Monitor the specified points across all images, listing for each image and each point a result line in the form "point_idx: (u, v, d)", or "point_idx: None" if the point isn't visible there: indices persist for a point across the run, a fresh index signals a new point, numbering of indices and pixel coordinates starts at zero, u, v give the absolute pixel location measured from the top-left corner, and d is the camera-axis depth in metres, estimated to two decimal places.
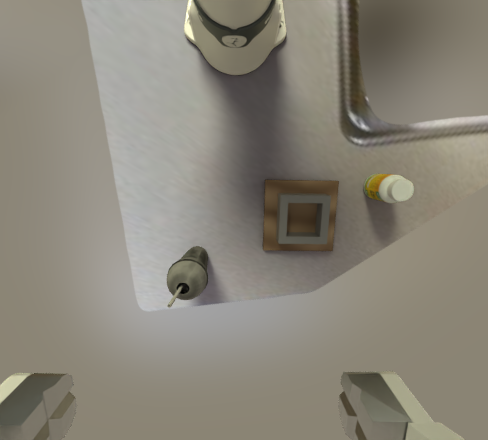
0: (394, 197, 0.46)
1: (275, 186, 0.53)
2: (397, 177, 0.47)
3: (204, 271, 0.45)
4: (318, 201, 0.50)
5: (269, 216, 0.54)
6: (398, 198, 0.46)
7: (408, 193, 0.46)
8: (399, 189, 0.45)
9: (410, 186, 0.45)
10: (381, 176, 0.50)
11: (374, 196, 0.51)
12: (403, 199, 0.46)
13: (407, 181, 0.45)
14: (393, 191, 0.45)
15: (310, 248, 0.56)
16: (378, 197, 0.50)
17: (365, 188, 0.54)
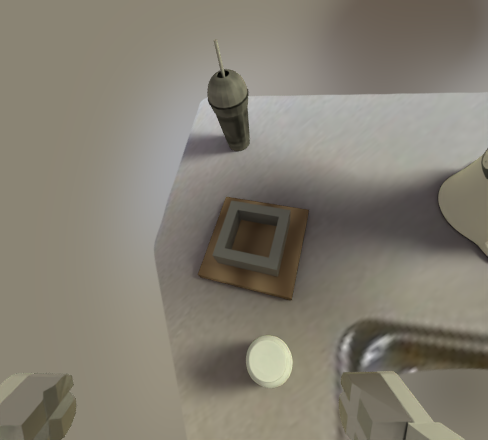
0: (258, 343, 0.28)
1: (299, 218, 0.43)
2: (288, 366, 0.28)
3: (230, 105, 0.43)
4: (272, 252, 0.37)
5: None
6: (255, 350, 0.28)
7: (259, 370, 0.27)
8: (270, 354, 0.27)
9: (271, 375, 0.26)
10: None
11: None
12: (251, 359, 0.27)
13: (281, 371, 0.26)
14: (269, 343, 0.28)
15: (210, 247, 0.43)
16: None
17: None
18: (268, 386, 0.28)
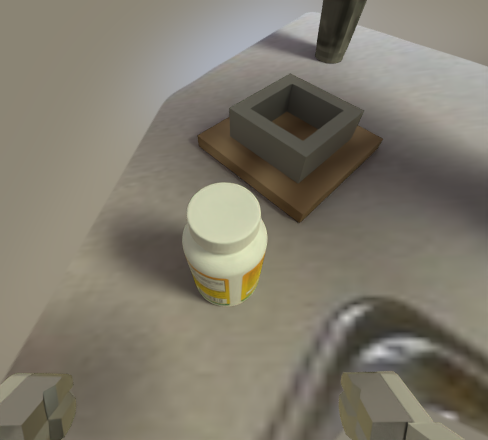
0: (225, 184, 0.15)
1: (365, 141, 0.29)
2: (252, 253, 0.15)
3: None
4: (311, 138, 0.24)
5: None
6: (214, 189, 0.15)
7: (201, 215, 0.14)
8: (234, 205, 0.14)
9: (215, 232, 0.13)
10: None
11: None
12: (199, 196, 0.14)
13: (236, 235, 0.13)
14: (243, 192, 0.14)
15: None
16: None
17: None
18: (200, 264, 0.15)
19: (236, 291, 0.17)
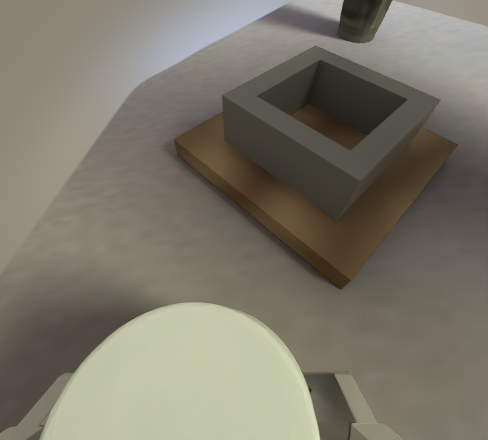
0: (196, 310, 0.05)
1: (432, 149, 0.19)
2: None
3: None
4: (364, 146, 0.14)
5: None
6: (156, 334, 0.04)
7: None
8: (222, 416, 0.04)
9: None
10: None
11: None
12: (99, 371, 0.04)
13: None
14: (254, 347, 0.04)
15: None
16: None
17: None
18: None
19: None
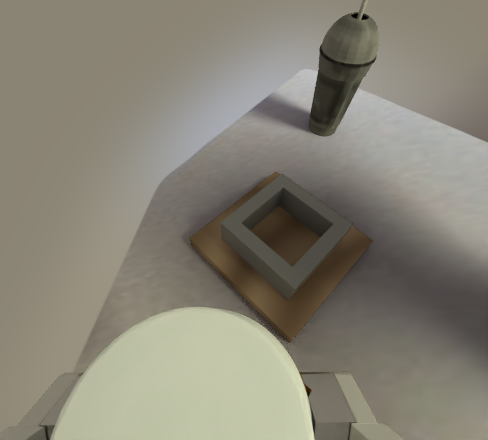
0: (197, 314, 0.05)
1: (355, 244, 0.30)
2: None
3: (346, 60, 0.31)
4: (301, 263, 0.24)
5: None
6: (159, 337, 0.05)
7: None
8: (222, 415, 0.04)
9: None
10: None
11: None
12: (106, 372, 0.04)
13: None
14: (252, 350, 0.04)
15: (223, 216, 0.31)
16: None
17: None
18: None
19: None
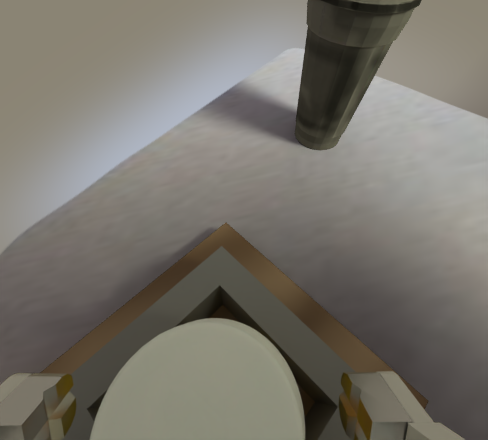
0: (207, 328, 0.06)
1: None
2: None
3: None
4: None
5: (297, 308, 0.15)
6: (176, 347, 0.06)
7: None
8: (229, 411, 0.05)
9: None
10: None
11: None
12: (134, 377, 0.05)
13: None
14: (253, 358, 0.05)
15: (98, 336, 0.14)
16: None
17: None
18: None
19: None
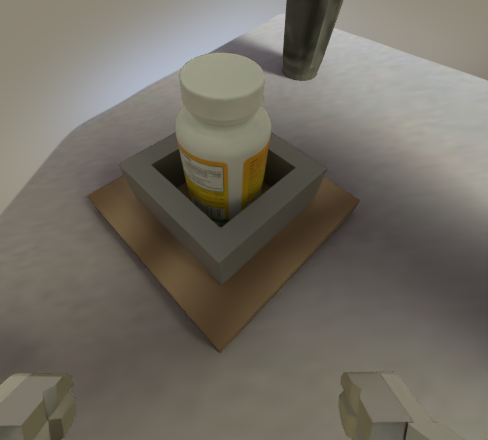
0: (224, 54, 0.13)
1: (333, 205, 0.20)
2: (254, 133, 0.13)
3: None
4: (236, 223, 0.15)
5: None
6: (211, 57, 0.13)
7: (197, 76, 0.12)
8: (234, 70, 0.12)
9: (212, 89, 0.11)
10: (265, 162, 0.16)
11: None
12: (195, 62, 0.12)
13: (237, 92, 0.11)
14: (244, 60, 0.13)
15: None
16: None
17: None
18: (195, 143, 0.13)
19: (236, 194, 0.15)
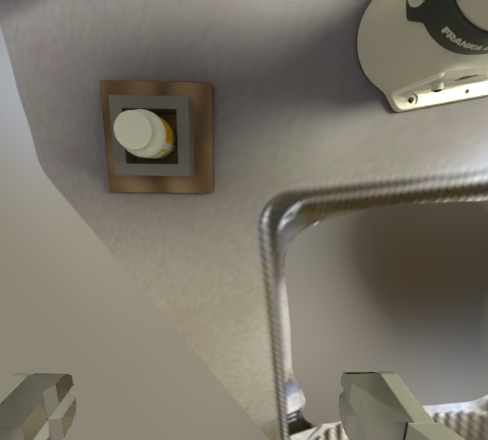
0: (119, 116, 0.27)
1: (203, 98, 0.35)
2: (159, 132, 0.29)
3: None
4: (180, 157, 0.34)
5: (155, 90, 0.35)
6: (118, 123, 0.27)
7: (128, 140, 0.27)
8: (133, 123, 0.27)
9: (140, 142, 0.27)
10: (166, 124, 0.32)
11: None
12: (117, 133, 0.27)
13: (148, 136, 0.27)
14: (130, 113, 0.27)
15: (110, 158, 0.37)
16: None
17: None
18: (147, 154, 0.30)
19: (169, 146, 0.33)
